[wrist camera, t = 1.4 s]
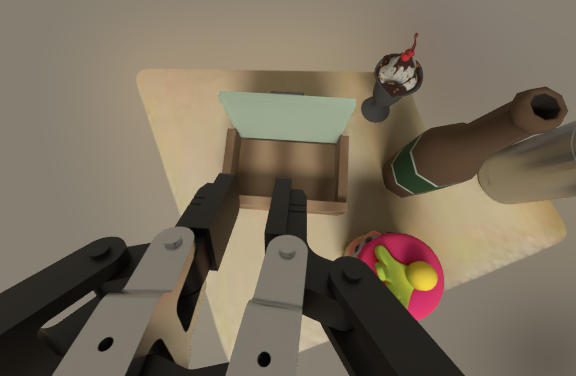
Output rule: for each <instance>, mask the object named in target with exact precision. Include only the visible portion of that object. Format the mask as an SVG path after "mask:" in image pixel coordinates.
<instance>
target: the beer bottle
mask: <svg viewBox="0 0 576 376" xmlns="http://www.w3.org/2000/svg"><path fill="white" fill-rule="evenodd" d="M567 112H568V110H567V107H566V105H565V102H564V100H563V97H562V95H560V94H558V93H556V92H555V91H553V90H551V89H549V88H547V87H542V88H536V89H531V90H527V91H523V92H520V93H517V94H516V96H515V98H514V99H513V101H511V102H509V103H507V104H505V105H503V106H501V107H499V108H498V109H496V110H494V111H492V112H490V113H488V114H486V115H484V116H482V117H480V118H478V119H476V120H474V121H472V122H470V123H468V124H466V123H457V124H451V125H446V126H440V127H435V128H431V129H429V130H427V131H425V132H424V133H422V134H421V135H420V136H418V137H417V138H416V139H414V140H413V141H412V142H410V143H409V144H408V145H406V146H405V147H404V148H402V149H401V150H400V151H398V152H397V153H396V154H394V155H393V156H392V157H391V159H390V160H389V162H388V163H387V165H386V166H385V168H384V169H383V171H382V172H383V176H384V180H385V184H386V188H388V189H389V190H391V191H392V192H394V193H395V194H397V195H398V196H400V197H407V196H412V195H418V194H423V193H427V192H431V191H434V190H438V189H441V188H445V187H448V186H452V185H455V184H459V183H462V182H465V181H467V180H470V179H472V178H473V177H474V176H475V175H476V174H477V173H478V172H479V170H480V168H481V167H482V165H483V163H484V162H485V160H486V158H487V157H489V156H490V155H492V154H493V153H495V152H498V151H500V150H502V149H504V148H506V147H508V146H510V145H512V144H514V143H516V142H519V141H521V140H523V139H525V138H527V137H529V136H531V135H534V134H540V133H545V132H551V131H552V130H554V129H555V128H556V127H558V126H559V125H560V124H561V123H562V121H563V119H564V117H565V116H566V114H567Z"/></svg>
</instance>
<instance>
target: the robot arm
mask: <svg viewBox="0 0 576 376" xmlns="http://www.w3.org/2000/svg"><path fill="white" fill-rule="evenodd" d="M478 177H479V182H480V184H481V187H482V188H483V190H484V191H485V192H486V194H487V195H488V196H490V197H491V198H492V199H494V200H496V201H498V202H500V203H504V204H519V203H527V202H537V201H545V200H553V199H562V198H570V197H576V121H573V122H571V123H568V124H565V125H563V126H560V127H558V128H555V129H554V130H552V131H551V132H545V133H542V134H540V135H537V136H535V137H532V138H529V139H527V140H524V141H522V142H519V143H517V144H514V145H511V146H509V147H506V148H504V149H502V150H500V151H498V152H495V153H493V154H492V155H490V156H489V157H487V158H486V160H485V162H484V163H483V165H482V167H481V168H480V170H479V172H478ZM291 184H292V178H284V177H276V179H275V184H274V189H273V194H272V199H271V204H270V209H269V213H268V218H267V223H266V228H265V257H264V261H263V264H262V268H261V271H260V275H259V279H258V282H257V286H256V289H255V293H254V296H253V298H252V300H249V302H248V303H247V306H246V309H245V312H244V315H243V318H242V322H241V325H240V328H239V332H238V335H237V339H236V342H235V345H234V349H233V352H232V356H231V359H230V362H228V363H223V364H218V365H213V366H208V367H204V368H199V369H193V370H190V369H188V366H189V362H190V356H191V339H192V334H193V330H194V327H195V323H196V320H197V317H198V313H199V310H200V306H201V303H202V300H203V296H204V293H205V289H206V277H207V274H208V272H209V270H213V271H218V269H219V266H220V264H221V261H222V258H223V255H224V252H225V250H226V247H227V244H228V241H229V238H230V236H231V233H232V230H233V227H234V224H235V221H236V219H237V216H238V213H239V207H240V198H239V188H238V178H237V175H236V174H227V173H219V174H218V176H217V178H216V180H215V181H214V183H207V184H205V185H204V186H203V187H201V188H200V189H199V190H198V191H197V193H196V194H195V196H194V198H193V199H192V201H191V202H190V205H188V207H187V209H186V210H185V212H184V213H183V215H182V216H181V218H180V220H179V221H178V223H177V224H176V226H175V227H173V228H169V229H166V230H164V231H162V232H161V233H159V234H158V235H157V236H156V237H155V238H154V239H153V241H152V242H151V243H148V244H142V245H136V246H130V247H127V246H126V244H125V242H124V240H122V239H121V238H118V237H106V238H101V239H98V240H96V241H94V242H92V243H90V244H88V245H86V246H85V247H83V248H81V249H79V250H77V251H75V252H73V253H72V254H70V255H68V256H66V257H65V258H63V259H61V260H59V261H57V262H56V263H54V264H52V265H50V266H48V267H47V268H45V269H43V270H42V271H40V272H38V273H36V274H34V275H32V276H31V277H29V278H27V279H25V280H23V281H22V282H20V283H18V284H16V285H15V286H13V287H11V288H9V289H7V290H6V291H4V292H2V293H0V376H296V370H297V360H298V350H299V340H300V330H301V320H302V314H303V315H305V316H307V317H309V318H312V319H314V320H316V321H318V322H320V323H321V325H322V327H323V329H324V331H325V333H326V335H327V336H328V338H329V340H330V342H331V343H332V345H333V347H334V349H335V351H336V352H337V354H338V356H339V358H340V359H341V361H342V363H343V365H344V367H345V368H346V370H347V372H348V374H349V376H465V375H464V374H463V373H462V372H461V371H460V370H459V368H458V367H457V366H456V365H455V364H454V363H453V362H452V360H451V359H450V358H449V357H448V356H447V355H446V354H445V352H444V351H443V350H442V349H441V348H440V347H439V346H438V344H437V343H436V342H435V341H434V340H433V339H432V338H431V336H430V335H429V334H428V333H427V332H426V331H425V330H424V329H423V327H422V326H421V325H420V324H419V323H418V322H417V320H416V319H415V318H414V317H413V316H412V315H411V314H410V312H409V311H408V310H407V309H406V308H405V307H404V306H403V304H402V303H401V302H400V301H399V300H398V299H397V298H396V296H395V295H394V294H393V293H392V292H391V291H390V290H389V288H388V287H387V286H386V285H385V284H384V283H383V282H382V280H381V279H380V278H379V277H378V276H377V275H376V274H375V272H374V271H373V270H372V269H371V268H370V267H369V266H368V265H367V264H366V263H365V262H364V261H362V260H360V259H358V258H355V257H351V256H343V257H339V258H337V259H336V260H334V261H331V260H328V259H325V258H323V257H320V256H318V255H317V254H315V253H314V252H313V251H312V250H311V249H310V247H309V246H308V243H307V196H306V195H305V193H304V191H303V190H300V189H291ZM91 291H94V292H95V294H96V295H97V296H96V297H95V298H93V299H92V300H90V301H89V302H87V303H86V304H85V305H83V306H82V307H80V308H79V309H78V310H76V311H75V312H73V313H72V314H70V315H69V316H68V317H66V318H65V319H63V320H62V321H61V322H59V323H58V324H56V325H54V326H52V327H50V328H41V327H42V326H43V325H44V324H45V323H46V322H47V321H49V320H50V319H52V318H53V317H55V316H56V315H57V314H59V313H60V312H62V311H63V310H65V309H66V308H67V307H69V306H71V305H72V304H74V303H75V302H77V301H78V300H79V299H81V298H82V297H84V296H85V295H87V294H88V293H90V292H91Z"/></svg>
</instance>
